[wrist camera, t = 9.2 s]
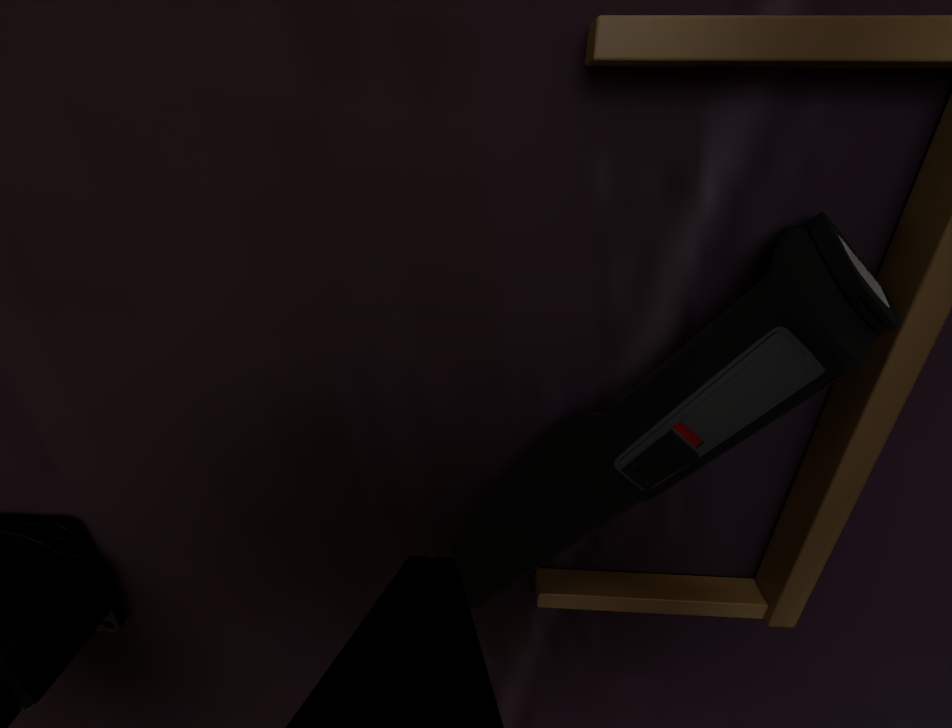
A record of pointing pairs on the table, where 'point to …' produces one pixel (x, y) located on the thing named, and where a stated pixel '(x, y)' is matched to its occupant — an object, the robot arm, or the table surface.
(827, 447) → the dock
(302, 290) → the table surface
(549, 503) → the electric trimmer
